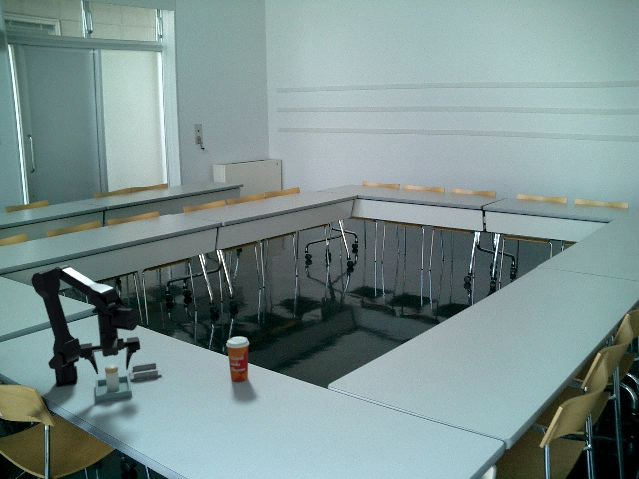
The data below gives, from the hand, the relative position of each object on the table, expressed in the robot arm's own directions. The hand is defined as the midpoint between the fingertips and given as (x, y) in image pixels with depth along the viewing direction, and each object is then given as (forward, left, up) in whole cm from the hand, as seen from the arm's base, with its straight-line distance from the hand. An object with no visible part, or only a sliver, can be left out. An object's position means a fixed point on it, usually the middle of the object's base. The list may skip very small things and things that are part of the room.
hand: (112, 371), depth 212 cm
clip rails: (+11, +10, -7) cm, 16 cm away
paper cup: (+41, -6, -7) cm, 42 cm away
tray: (0, 0, -7) cm, 7 cm away
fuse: (0, 0, -6) cm, 6 cm away
